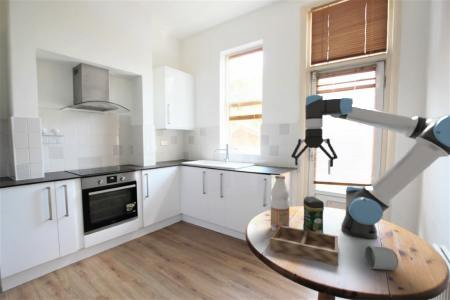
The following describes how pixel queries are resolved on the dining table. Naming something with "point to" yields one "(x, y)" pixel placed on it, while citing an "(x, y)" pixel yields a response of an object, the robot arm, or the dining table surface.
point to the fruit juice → (279, 203)
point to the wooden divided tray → (305, 244)
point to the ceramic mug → (380, 258)
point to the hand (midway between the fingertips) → (313, 173)
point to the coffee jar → (313, 214)
